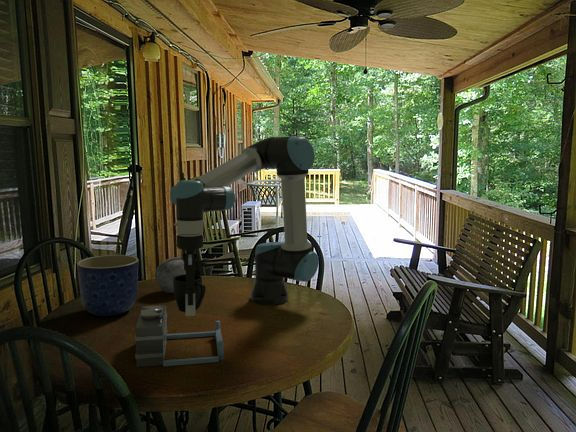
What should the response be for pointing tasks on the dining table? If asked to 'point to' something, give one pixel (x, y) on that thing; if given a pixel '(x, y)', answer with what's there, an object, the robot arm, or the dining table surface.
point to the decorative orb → (169, 273)
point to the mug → (180, 286)
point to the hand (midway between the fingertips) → (190, 309)
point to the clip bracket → (204, 359)
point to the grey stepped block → (151, 336)
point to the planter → (108, 283)
